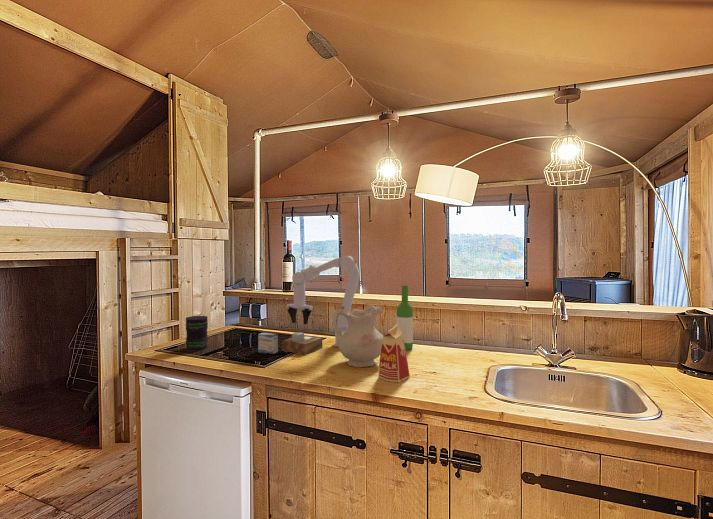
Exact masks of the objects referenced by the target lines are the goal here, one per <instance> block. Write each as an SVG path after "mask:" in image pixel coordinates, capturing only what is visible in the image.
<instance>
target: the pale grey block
mask: <svg viewBox="0 0 713 519" xmlns="http://www.w3.org/2000/svg"><path fill="white" fill-rule="evenodd" d="M304 335H305V333H304V332H300V331H297V332H293V333H291V338H292V342H298V343H299V342H302V341H304Z"/></svg>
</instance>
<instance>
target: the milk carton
mask: <svg viewBox="0 0 713 519" xmlns="http://www.w3.org/2000/svg"><path fill="white" fill-rule="evenodd" d="M406 351H407V350H405V344H404V339H403V334H402V331H401V330H400V329H399V328H398V324H397V323H396V324H395V325H394V326H393V327H392V328H391V329H389V330H388V331H387V333H386V334H385V335H383V340H382V346H381V353H380V356H379V363H378V373H377V374H378V376H377V378H378V379H381V380H384V381H386V382H388V381H390V382H389V383H397V382H398V383H401V382H403V381H405V379H406V380H408V379H410V378H411V376H410V370H409V368H410V367H409V363H408V362H409V361H408V356H407V352H406ZM407 378H408V379H407ZM402 380H403V381H402ZM398 383H397V384H398Z"/></svg>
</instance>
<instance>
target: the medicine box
mask: <svg viewBox="0 0 713 519" xmlns="http://www.w3.org/2000/svg"><path fill="white" fill-rule="evenodd" d="M278 336H279V334H278V333H272V332H261V333H258V336H257V338H258V342H257V343H258V347H257V348H258V350H257V352H258V353H259V354H267V353H269V355H270V354H271V355H274V354H277V353H278V352H279V349H278V348H279V344H278V343H279V342H278V341H279V338H278Z"/></svg>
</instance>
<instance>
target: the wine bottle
mask: <svg viewBox="0 0 713 519" xmlns="http://www.w3.org/2000/svg"><path fill="white" fill-rule="evenodd" d="M396 324H398V328H399V329H400V330H401V331H402V334H403V339H404V344H405V350H406V351H410V350H411V349H413V346H414V344H413V343H414V342H413V341H414V340H413V339H414V309H413V307H412V305H411V304H410V303H409V286H408V285H401V302H400V303H399V305H397V308H396Z"/></svg>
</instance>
